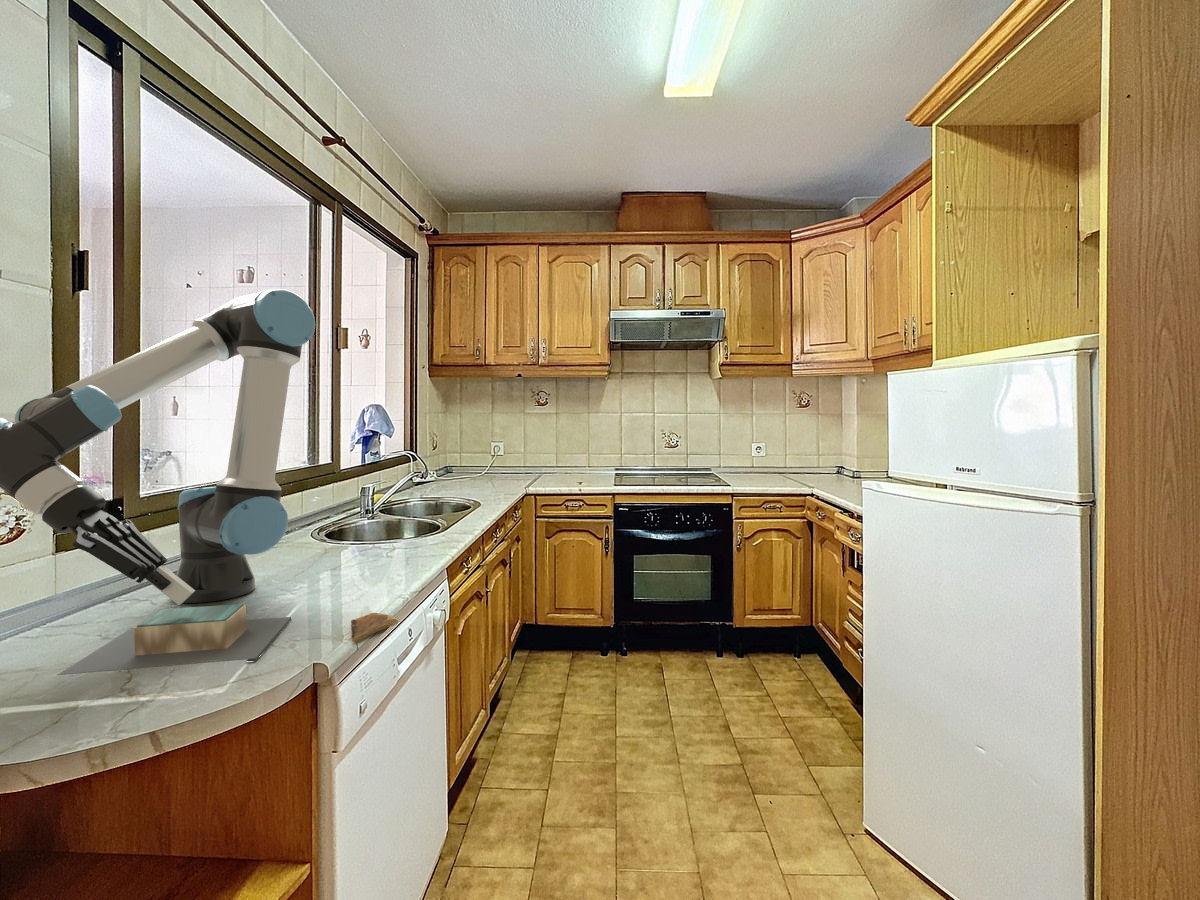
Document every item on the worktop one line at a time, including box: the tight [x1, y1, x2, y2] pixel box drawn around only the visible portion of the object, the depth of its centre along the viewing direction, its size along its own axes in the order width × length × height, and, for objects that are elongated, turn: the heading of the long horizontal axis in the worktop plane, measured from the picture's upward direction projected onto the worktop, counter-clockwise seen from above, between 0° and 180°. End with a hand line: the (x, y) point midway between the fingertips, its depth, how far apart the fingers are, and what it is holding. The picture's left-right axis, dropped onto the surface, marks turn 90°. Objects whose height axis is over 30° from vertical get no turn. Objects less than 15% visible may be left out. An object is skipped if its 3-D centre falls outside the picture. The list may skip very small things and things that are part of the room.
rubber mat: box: [57, 616, 292, 676], centre depth 100 cm, size 26×20×1 cm
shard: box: [350, 612, 399, 643], centre depth 107 cm, size 11×8×2 cm
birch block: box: [133, 603, 248, 656], centre depth 100 cm, size 5×9×13 cm
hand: (187, 597), depth 100 cm, fingers closed
